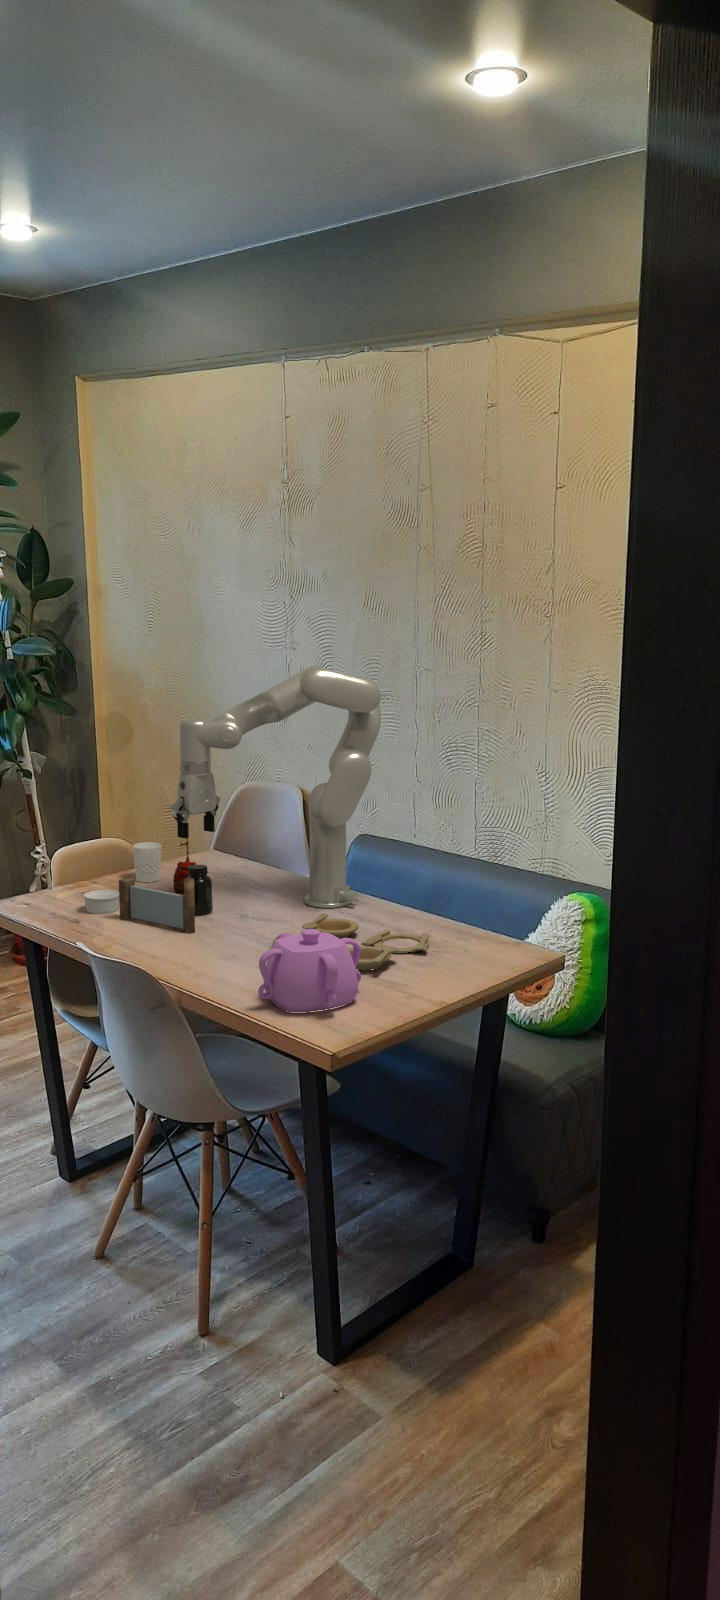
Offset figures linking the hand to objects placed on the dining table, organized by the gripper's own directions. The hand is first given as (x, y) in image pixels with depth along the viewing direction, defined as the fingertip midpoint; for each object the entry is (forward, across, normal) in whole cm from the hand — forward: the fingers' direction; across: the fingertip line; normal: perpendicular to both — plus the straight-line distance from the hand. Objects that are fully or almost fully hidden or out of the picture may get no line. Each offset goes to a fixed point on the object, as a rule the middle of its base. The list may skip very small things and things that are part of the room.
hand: (196, 834), depth 284 cm
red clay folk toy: (+20, +10, +12) cm, 25 cm away
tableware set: (+20, -5, -51) cm, 55 cm away
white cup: (+20, +14, +31) cm, 39 cm away
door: (+19, -15, -2) cm, 25 cm away
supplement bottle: (+20, -2, -3) cm, 20 cm away
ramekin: (+20, -15, +19) cm, 31 cm away
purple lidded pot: (+20, -34, -61) cm, 72 cm away
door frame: (+20, -16, -2) cm, 25 cm away
